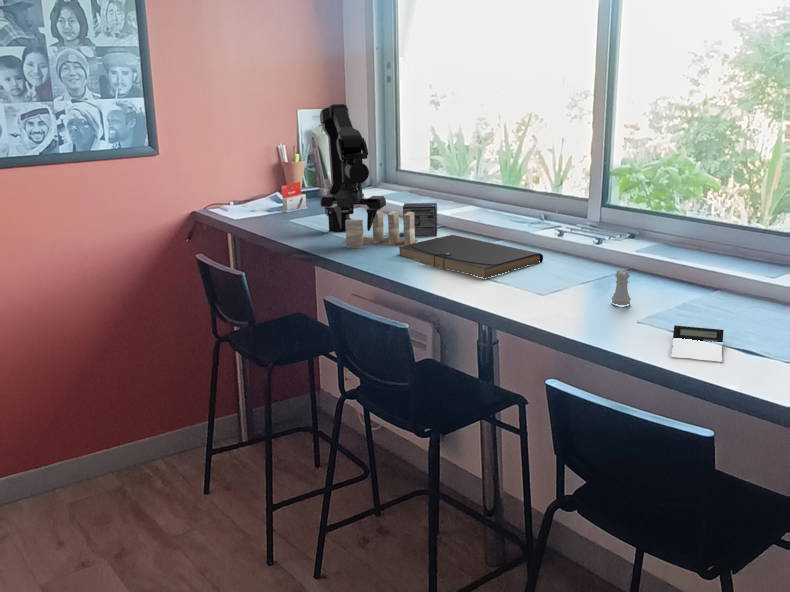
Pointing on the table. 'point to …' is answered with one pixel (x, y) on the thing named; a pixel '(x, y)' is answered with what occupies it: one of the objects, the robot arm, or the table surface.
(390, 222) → the domino
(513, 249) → the book
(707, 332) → the calculator
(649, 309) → the table surface
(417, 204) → the small box
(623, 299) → the rook chess piece
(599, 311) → the table surface
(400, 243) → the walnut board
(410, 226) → the domino
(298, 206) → the ink cartridge box
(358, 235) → the domino
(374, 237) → the domino
